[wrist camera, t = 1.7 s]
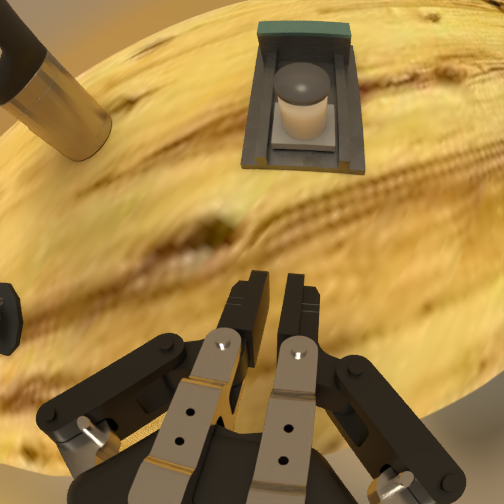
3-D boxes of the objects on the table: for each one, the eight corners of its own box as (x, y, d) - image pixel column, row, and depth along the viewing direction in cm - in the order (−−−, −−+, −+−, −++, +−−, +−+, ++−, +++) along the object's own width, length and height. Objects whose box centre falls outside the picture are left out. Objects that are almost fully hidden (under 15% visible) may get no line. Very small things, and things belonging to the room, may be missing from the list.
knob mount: (242, 168, 35) (229, 138, 29) (260, 47, 39) (253, 15, 33) (363, 174, 32) (374, 144, 26) (352, 50, 37) (354, 17, 30)
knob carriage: (272, 148, 34) (262, 102, 25) (276, 108, 35) (267, 60, 27) (334, 151, 32) (340, 105, 24) (333, 110, 33) (337, 62, 25)
